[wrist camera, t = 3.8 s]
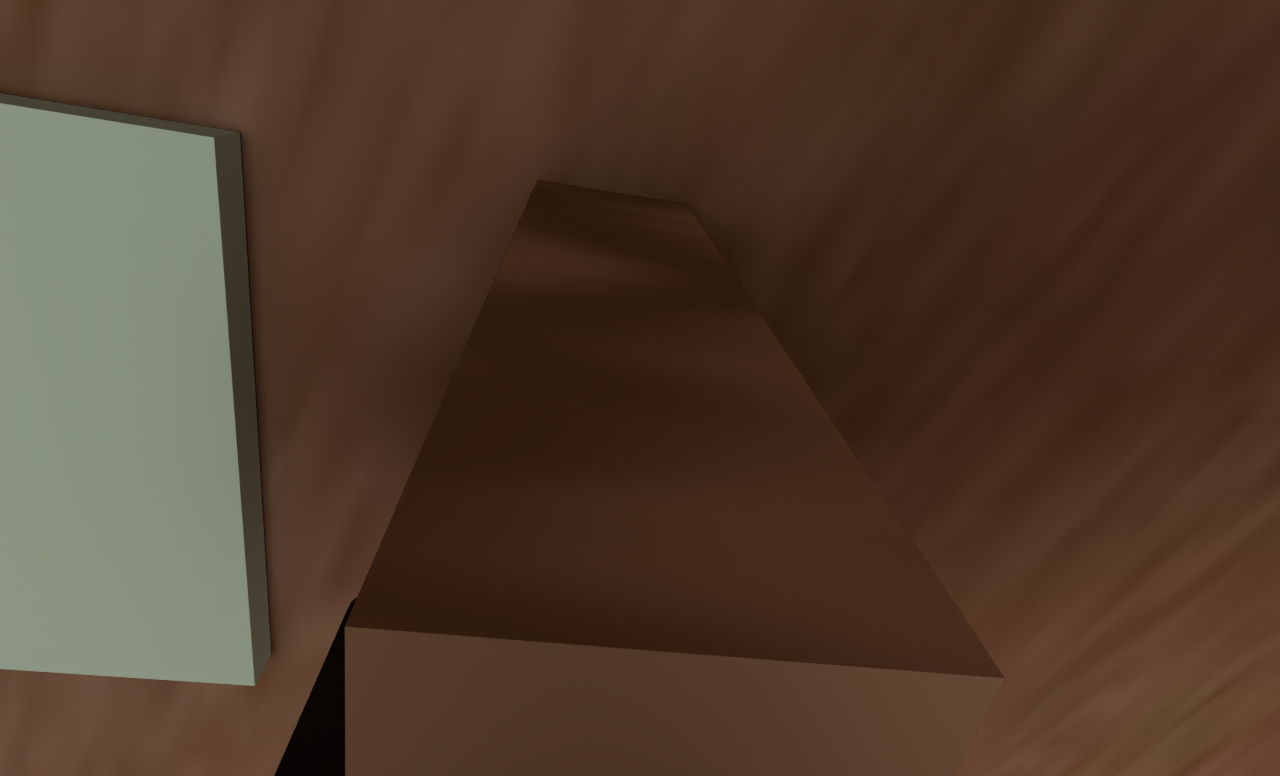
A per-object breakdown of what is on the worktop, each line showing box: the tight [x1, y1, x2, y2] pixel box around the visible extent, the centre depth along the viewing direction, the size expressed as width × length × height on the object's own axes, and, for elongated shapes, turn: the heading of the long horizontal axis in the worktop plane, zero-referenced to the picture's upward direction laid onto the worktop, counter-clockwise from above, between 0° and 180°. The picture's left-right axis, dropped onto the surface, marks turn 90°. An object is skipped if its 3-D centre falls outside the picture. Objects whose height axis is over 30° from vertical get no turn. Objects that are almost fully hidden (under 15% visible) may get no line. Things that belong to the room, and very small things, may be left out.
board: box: [345, 180, 1005, 776], centre depth 11 cm, size 3×10×12 cm, turn 170°
